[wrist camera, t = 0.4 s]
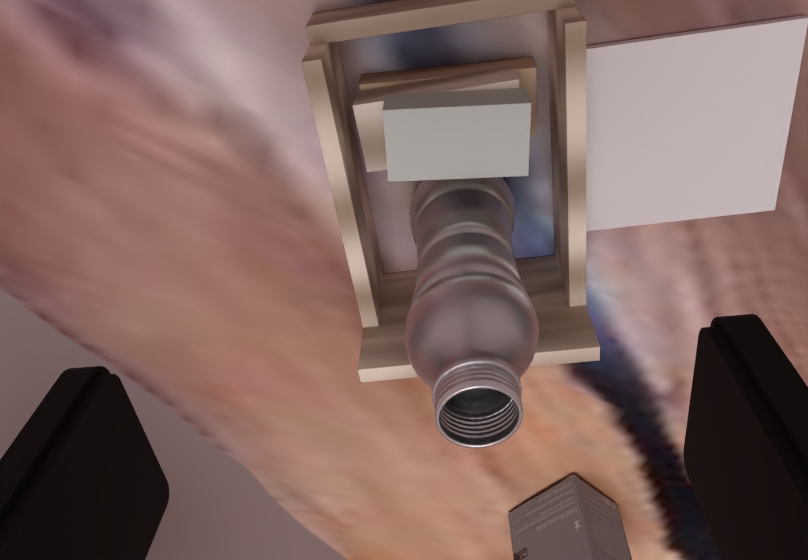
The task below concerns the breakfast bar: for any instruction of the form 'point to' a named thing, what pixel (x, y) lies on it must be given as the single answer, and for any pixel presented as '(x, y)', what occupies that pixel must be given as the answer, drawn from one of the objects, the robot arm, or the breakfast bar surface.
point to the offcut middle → (372, 100)
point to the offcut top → (457, 134)
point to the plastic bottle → (469, 309)
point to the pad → (689, 122)
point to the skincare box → (568, 525)
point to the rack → (375, 291)
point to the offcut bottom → (522, 66)
